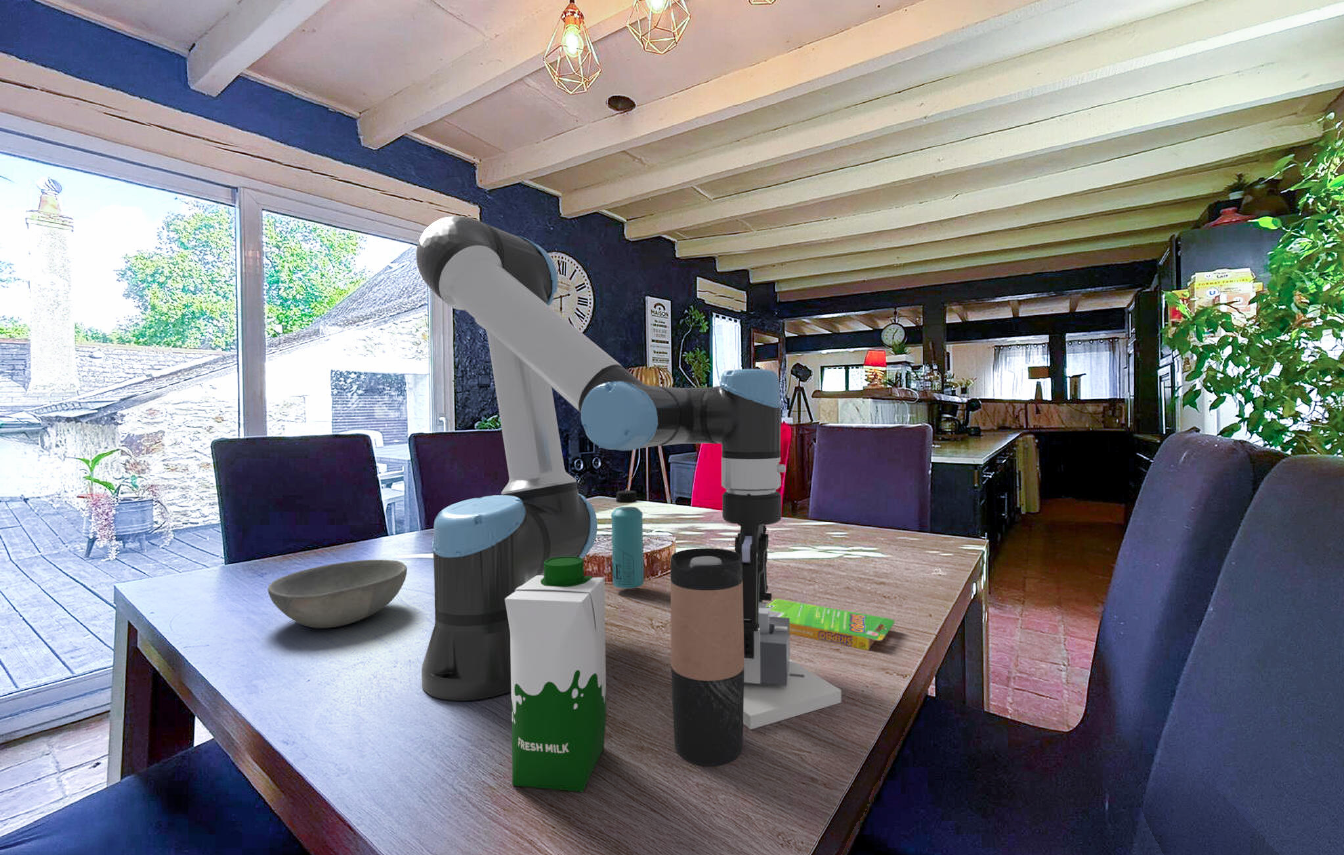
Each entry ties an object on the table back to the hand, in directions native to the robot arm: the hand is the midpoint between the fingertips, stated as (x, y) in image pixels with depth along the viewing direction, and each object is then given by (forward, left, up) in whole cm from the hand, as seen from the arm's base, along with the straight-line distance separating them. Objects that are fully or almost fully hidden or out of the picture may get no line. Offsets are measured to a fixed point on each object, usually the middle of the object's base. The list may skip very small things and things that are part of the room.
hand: (753, 664), depth 74 cm
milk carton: (-27, -6, -3) cm, 28 cm away
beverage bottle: (0, +44, -3) cm, 44 cm away
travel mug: (-12, -10, -3) cm, 16 cm away
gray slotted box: (0, 0, 0) cm, 0 cm away
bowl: (-50, +53, -3) cm, 73 cm away
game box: (+21, +11, -3) cm, 23 cm away
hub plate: (0, 0, -2) cm, 2 cm away
